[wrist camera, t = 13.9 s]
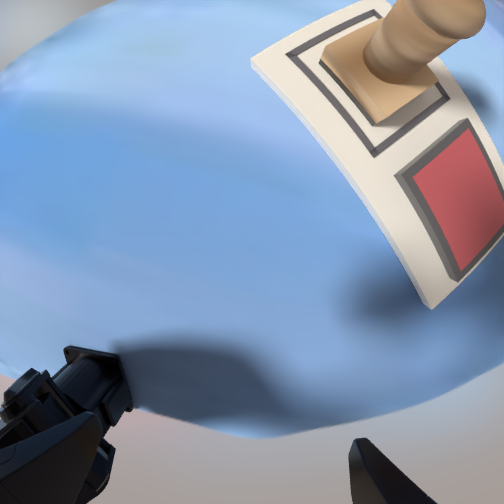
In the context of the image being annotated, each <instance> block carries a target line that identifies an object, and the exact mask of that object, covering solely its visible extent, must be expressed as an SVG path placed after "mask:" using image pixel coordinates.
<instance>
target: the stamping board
mask: <svg viewBox="0 0 504 504" xmlns="http://www.w3.org/2000/svg"><path fill="white" fill-rule="evenodd" d="M391 8H392V6H391V5H390V4H389V3H388V2H387V1H386V0H362V1H359V2H357V3H354V4H352V5H350V6H347V7H345V8H343V9H340V10H338V11H336V12H334V13H331V14H329V15H327V16H325V17H323V18H321V19H319V20H317V21H315V22H313V23H311V24H309V25H307V26H305V27H303V28H301V29H299V30H298V31H296V32H294V33H292V34H290V35H288V36H287V37H285V38H283V39H281V40H280V41H278V42H276V43H275V44H273V45H271V46H270V47H268V48H266V49H265V50H263V51H261V52H260V53H258V54H257V55H255V56H254V57H252V58H250V59H251V67H252V68H253V69H254V70H255V71H256V72H257V73H258V74H259V76H260V77H261V78H262V79H263V80H264V81H265V82H266V83H267V84H268V85H269V86H270V87H271V88H272V89H273V90H274V91H275V92H276V93H277V95H278V96H279V97H280V98H281V99H282V100H283V101H284V102H285V103H286V104H287V106H288V107H289V108H290V109H291V110H292V111H293V112H294V114H295V115H296V116H297V117H298V118H299V119H300V121H301V122H302V123H303V124H304V125H305V126H306V128H307V129H308V130H309V131H310V133H311V134H312V135H313V136H314V137H315V139H316V140H317V141H318V142H319V144H320V145H321V146H322V147H323V149H324V150H325V151H326V152H327V154H328V155H329V156H330V158H331V159H332V160H333V162H334V163H335V164H336V166H337V167H338V168H339V170H340V171H341V172H342V174H343V175H344V176H345V178H346V179H347V180H348V182H349V183H350V185H351V186H352V187H353V189H354V190H355V192H356V193H357V195H358V196H359V197H360V199H361V200H362V202H363V203H364V205H365V206H366V208H367V209H368V211H369V212H370V214H371V215H372V217H373V218H374V220H375V221H376V223H377V224H378V226H379V227H380V229H381V231H382V232H383V234H384V235H385V237H386V239H387V240H388V242H389V243H390V245H391V247H392V248H393V250H394V252H395V253H396V255H397V257H398V259H399V260H400V262H401V264H402V265H403V267H404V269H405V271H406V272H407V274H408V276H409V278H410V280H411V281H412V283H413V285H414V287H415V289H416V291H417V293H418V295H419V296H420V298H421V300H422V302H423V304H425V305H426V306H427V307H429V308H430V309H431V310H432V309H434V308H435V307H436V306H437V305H438V304H439V303H440V302H441V301H442V300H443V299H445V298H446V297H447V296H448V295H449V294H450V293H451V292H452V291H453V290H454V289H455V288H456V287H457V286H458V285H459V284H460V283H461V282H462V281H463V280H464V279H465V278H466V277H467V276H468V275H469V274H470V273H471V272H472V271H473V270H474V269H475V268H476V267H477V266H478V265H479V263H480V262H481V261H482V260H483V259H484V258H485V257H486V256H487V255H488V254H489V252H490V251H491V250H492V249H493V248H494V247H495V245H496V244H497V243H498V242H499V241H500V240H501V238H502V237H503V236H504V233H503V234H502V235H501V236H500V238H499V239H498V240H497V241H496V242H495V244H494V245H493V246H492V247H491V248H490V249H489V250H488V252H487V253H486V254H485V255H484V256H483V257H482V258H481V259H480V260H479V261H478V262H477V264H476V265H475V266H474V267H473V268H472V269H471V270H470V271H469V272H468V273H467V274H466V275H465V276H464V277H463V278H462V279H461V280H460V281H459V282H456V281H454V280H452V279H450V278H449V276H448V274H447V272H446V269H445V267H444V265H443V263H442V261H441V259H440V257H439V255H438V253H437V251H436V249H435V247H434V245H433V243H432V241H431V239H430V237H429V235H428V233H427V231H426V229H425V227H424V226H423V224H422V222H421V220H420V218H419V217H418V215H417V213H416V211H415V210H414V208H413V206H412V204H411V203H410V201H409V199H408V198H407V196H406V194H405V193H404V191H403V190H402V188H401V186H400V185H399V183H398V182H397V180H396V179H395V177H394V176H393V175H394V174H396V173H397V172H398V171H399V170H401V169H402V168H403V167H404V166H405V165H407V164H408V163H409V162H410V161H412V160H413V159H414V158H415V157H416V156H418V155H419V154H420V153H421V152H422V151H424V150H425V149H426V148H427V147H428V146H430V145H431V144H432V143H433V142H434V141H436V140H437V139H438V138H439V137H440V136H441V135H443V134H444V133H445V132H446V131H447V130H449V129H450V128H451V127H452V126H453V125H454V124H456V123H457V122H458V121H459V120H462V119H465V118H468V119H469V120H470V122H471V124H472V126H473V127H474V129H475V131H476V133H477V134H478V136H479V138H480V140H481V142H482V144H483V146H484V148H485V150H486V152H487V154H488V156H489V158H490V160H491V162H492V164H493V166H494V168H495V171H496V173H497V175H498V177H499V180H500V182H501V184H502V187H503V189H504V165H503V163H502V160H501V158H500V156H499V154H498V152H497V150H496V148H495V146H494V144H493V142H492V140H491V138H490V136H489V134H488V132H487V130H486V128H485V127H484V125H483V123H482V121H481V119H480V118H479V116H478V114H477V113H476V111H475V109H474V108H473V106H472V104H471V103H470V101H469V100H468V98H467V96H466V95H465V93H464V92H463V90H462V89H461V87H460V86H459V84H458V83H457V81H456V80H455V79H454V77H453V76H452V74H451V73H450V72H449V70H448V69H447V68H446V66H445V65H444V64H443V62H442V61H441V60H440V59H439V57H438V56H437V57H436V58H435V59H433V60H432V61H431V62H429V63H428V64H427V65H428V67H429V68H430V69H431V70H432V72H433V73H434V74H435V76H436V77H437V78H438V80H439V81H438V82H437V83H435V84H434V85H432V86H431V87H429V88H428V89H426V90H425V91H424V92H422V93H421V94H419V95H418V96H416V97H415V98H414V99H412V100H411V101H409V102H408V103H406V104H405V105H404V106H402V107H401V108H399V109H398V110H397V111H395V112H394V113H392V114H391V115H390V116H388V117H387V118H385V119H383V120H382V121H380V122H379V123H377V124H375V125H374V126H371V125H370V123H369V122H368V121H367V119H366V118H365V117H364V115H363V114H362V113H361V112H360V110H359V109H358V108H357V107H356V105H355V104H354V103H353V102H352V101H351V99H350V98H349V97H348V96H347V95H346V93H345V92H344V91H343V90H342V89H341V88H340V86H339V85H338V84H337V83H336V82H335V81H334V80H333V79H332V78H331V76H330V75H329V74H328V73H327V72H326V71H325V70H324V69H323V68H322V67H321V66H320V65H319V64H318V63H319V61H320V58H321V56H322V53H323V51H324V48H325V46H326V45H328V44H330V43H332V42H334V41H335V40H337V39H339V38H341V37H343V36H345V35H347V34H349V33H351V32H353V31H355V30H357V29H359V28H361V27H363V26H365V25H367V24H370V23H372V22H374V21H376V20H378V19H381V18H383V17H384V18H385V17H386V15H387V14H388V13H389V11H390V10H391Z"/></svg>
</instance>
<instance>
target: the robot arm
mask: <svg viewBox="0 0 504 504" xmlns="http://www.w3.org/2000/svg"><path fill="white" fill-rule="evenodd" d="M63 351H64V355H65V358H66V361H67V364H66V365H65V366H64V367H62V368H61V369H60V370H59V371H58V372H57V373H56V374H55V375H54V376H53V377H52V378H51V377H50V374H49V373H48V371H47V370H45V371H43V372H41V373H40V372H39V371H36V370H34V369H33V368H31V369H29V370H28V371H27V372H26V373H24V374H23V375H22V376H21V377H20V378H18V379H17V380H16V381H15V382H14V383H13V384H12V385H11V386H10V387H9V388H8V389H7V390H6V391H5V392H4V402H3V403H2V405H1V408H0V417H1V418H2V419H1V420H0V504H87V503H88V502H89V501H90V500H92V499H93V498H95V497H96V496H98V495H99V494H100V493H101V492H102V491H103V490H104V489H105V487H106V486H107V484H108V481H109V478H110V473H111V468H112V464H113V458H114V455H115V450H116V449H115V448H114V447H113V446H112V445H111V444H109V443H108V442H107V441H106V440H105V439H104V436H105V434H106V433H107V431H108V430H109V428H110V426H113V427H114V426H115V425H116V424H117V423H118V421H119V419H120V418H121V416H122V414H123V413H124V411H126V412H131V411H132V410H133V404H132V401H131V400H132V399H131V395H130V392H129V388H128V385H127V381H126V379H125V376H124V373H123V369H122V365H121V361H120V358H119V357H118V356H116V355H112V354H106V353H100V352H94V351H89V350H84V349H79V348H74V347H69V346H67V347H65V348H64V350H63ZM114 360H115V361H116V362H115V361H114ZM349 471H350V485H351V495H352V501H353V504H437V503H436V502H435V501H434V500H433V499H431V498H430V497H429V496H427V494H426V493H425V492H423V491H422V490H421V489H420V488H419V487H418V486H417V485H416V484H415V483H414V482H412V481H411V480H410V479H409V478H408V477H407V476H406V475H405V474H404V473H403V472H402V471H400V470H399V469H398V468H397V467H396V466H395V465H394V464H393V463H392V462H391V461H390V460H389V459H388V458H387V457H386V456H385V455H384V454H383V453H382V452H381V451H380V450H379V449H378V448H377V447H375V445H374V444H372V443H371V442H370V441H369V440H368V439H367V438H357V439H355V440H354V441H353V444H352V446H351V449H350V452H349Z"/></svg>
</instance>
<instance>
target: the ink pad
mask: <svg viewBox="0 0 504 504" xmlns="http://www.w3.org/2000/svg"><path fill="white" fill-rule="evenodd" d="M393 176H394V177H395V179H396V180H397V182H398V183H399V185H400V186H401V188H402V190H403V191H404V193H405V194H406V196H407V198H408V199H409V201H410V203H411V204H412V206H413V208H414V210H415V211H416V213H417V215H418V217H419V218H420V220H421V222H422V224H423V226H424V227H425V229H426V231H427V233H428V235H429V237H430V239H431V241H432V243H433V245H434V247H435V249H436V251H437V253H438V255H439V257H440V259H441V261H442V263H443V265H444V267H445V269H446V272H447V274H448V276H449V278H450V279H452V280H454V281H456V282H459V281H460V280H461V279H462V278H463V277H464V276H465V275H466V274H467V273H468V272H469V271H470V270H471V269H472V268H473V267H474V266H475V265H476V264H477V262H478V261H479V260H480V259H481V258H482V257H483V256H484V255H485V254H486V253H487V252H488V250H489V249H490V248H491V247H492V246H493V245H494V244H495V242H496V241H497V240H498V239H499V238H500V236H501V235H502V234H503V233H504V189H503V187H502V184H501V182H500V180H499V177H498V175H497V173H496V171H495V168H494V166H493V164H492V162H491V160H490V158H489V156H488V154H487V152H486V150H485V148H484V146H483V144H482V142H481V140H480V138H479V136H478V134H477V133H476V131H475V129H474V127H473V126H472V124H471V122H470V120H469V119H468V118H465V119H462V120H459V121H458V122H457V123H456V124H454V125H453V126H452V127H451V128H450V129H449V130H447V131H446V132H445V133H444V134H443V135H441V136H440V137H439V138H438V139H437V140H436V141H434V142H433V143H432V144H431V145H430V146H428V147H427V148H426V149H425V150H424V151H422V152H421V153H420V154H419V155H418V156H416V157H415V158H414V159H413V160H412V161H410V162H409V163H408V164H407V165H405V166H404V167H403V168H402V169H401V170H399V171H398V172H397V173H396V174H394V175H393Z"/></svg>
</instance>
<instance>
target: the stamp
mask: <svg viewBox="0 0 504 504" xmlns="http://www.w3.org/2000/svg"><path fill="white" fill-rule="evenodd" d="M485 18H486V10H485V5H484V2H483V0H397V1H396V3H395V4H394V6H393V7H392V8H391V10H390V11H389V13H388V14H387V15H386V17H385V18H384V17H383V18H381V19H378V20H376V21H374V22H372V23H370V24H367V25H365V26H363V27H361V28H359V29H357V30H355V31H353V32H351V33H349V34H347V35H345V36H343V37H341V38H339V39H337V40H335V41H334V42H332V43H330V44H328V45H326V46H325V48H324V51H323V53H322V56H321V58H320V61H319V63H318V64H319V65H320V66H321V67H322V68H323V69H324V70H325V71H326V72H327V73H328V74H329V75H330V76H331V78H332V79H333V80H334V81H335V82H336V83H337V84H338V85H339V86H340V88H341V89H342V90H343V91H344V92H345V93H346V95H347V96H348V97H349V98H350V99H351V101H352V102H353V103H354V104H355V105H356V107H357V108H358V109H359V110H360V112H361V113H362V114H363V115H364V117H365V118H366V119H367V121H368V122H369V123H370V125H371V126H374V125H375V124H377V123H379V122H380V121H382V120H383V119H385V118H387V117H388V116H390V115H391V114H392V113H394V112H395V111H397V110H398V109H399V108H401V107H402V106H404V105H405V104H406V103H408V102H409V101H411V100H412V99H414V98H415V97H416V96H418V95H419V94H421V93H422V92H424V91H425V90H426V89H428V88H429V87H431V86H432V85H434V84H435V83H437V82H438V81H439V80H438V78H437V77H436V76H435V74H434V73H433V72H432V70H431V69H430V68H429V67H428V65H427V64H428V63H429V62H431V61H432V60H433V59H435V58H436V57H437V56H439V55H440V54H441V53H443V52H444V51H445V50H447V49H448V48H449V47H451V46H452V45H453V44H455V43H456V42H458V41H459V40H460V39H467V38H470V37H472V36H474V35H476V34H477V33H478V32H479V31H480V30H481V29H482V27H483V25H484V23H485Z"/></svg>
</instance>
